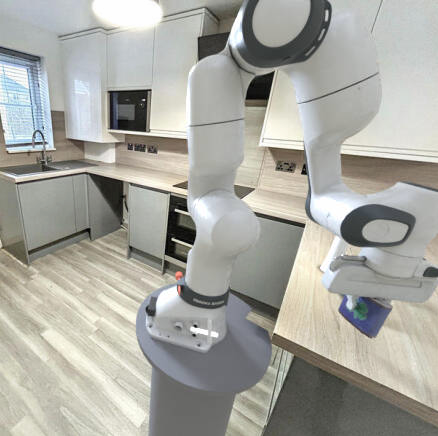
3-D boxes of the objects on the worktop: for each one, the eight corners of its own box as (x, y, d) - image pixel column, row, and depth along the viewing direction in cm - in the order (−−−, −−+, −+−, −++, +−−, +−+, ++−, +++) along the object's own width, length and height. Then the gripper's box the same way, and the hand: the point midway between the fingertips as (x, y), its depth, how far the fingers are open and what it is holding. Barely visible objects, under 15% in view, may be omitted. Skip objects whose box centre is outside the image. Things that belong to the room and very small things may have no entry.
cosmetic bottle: (321, 264, 92) (341, 211, 83) (341, 271, 88) (363, 216, 79) (318, 270, 88) (338, 216, 79) (338, 277, 84) (361, 221, 75)
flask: (378, 339, 52) (400, 301, 48) (366, 339, 52) (387, 301, 48) (344, 308, 61) (360, 274, 57) (333, 308, 61) (348, 274, 57)
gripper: (344, 261, 48) (322, 313, 53) (456, 272, 46) (421, 325, 51) (326, 246, 54) (307, 295, 59) (425, 256, 52) (396, 305, 57)
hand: (361, 309), depth 55 cm, fingers closed on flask, 3 cm apart
